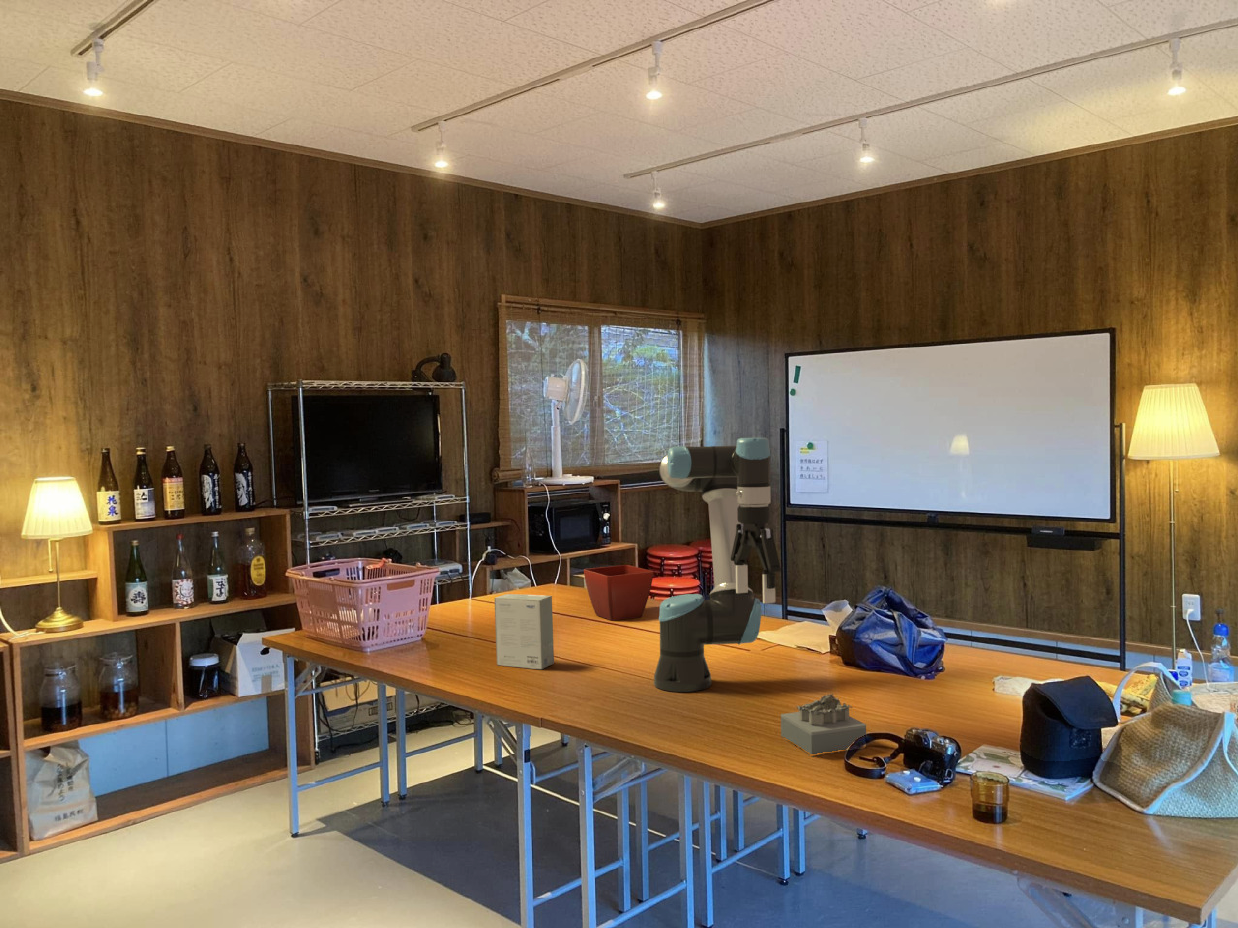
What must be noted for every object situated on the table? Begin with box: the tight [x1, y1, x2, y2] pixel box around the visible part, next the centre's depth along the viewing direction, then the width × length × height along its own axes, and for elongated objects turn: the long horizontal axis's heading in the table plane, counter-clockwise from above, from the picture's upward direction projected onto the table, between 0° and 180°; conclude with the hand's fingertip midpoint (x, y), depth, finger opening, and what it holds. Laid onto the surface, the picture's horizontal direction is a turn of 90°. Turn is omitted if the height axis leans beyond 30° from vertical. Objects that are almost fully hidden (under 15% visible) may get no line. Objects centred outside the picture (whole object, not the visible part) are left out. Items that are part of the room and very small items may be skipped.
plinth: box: [780, 711, 867, 754], centre depth 200 cm, size 13×13×5 cm
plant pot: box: [583, 564, 654, 622], centre depth 337 cm, size 19×19×17 cm
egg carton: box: [795, 693, 853, 726], centre depth 200 cm, size 11×8×4 cm
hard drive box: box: [494, 593, 555, 670], centre depth 271 cm, size 16×8×20 cm, turn 65°
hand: (755, 597), depth 214 cm, fingers open, 13 cm apart
